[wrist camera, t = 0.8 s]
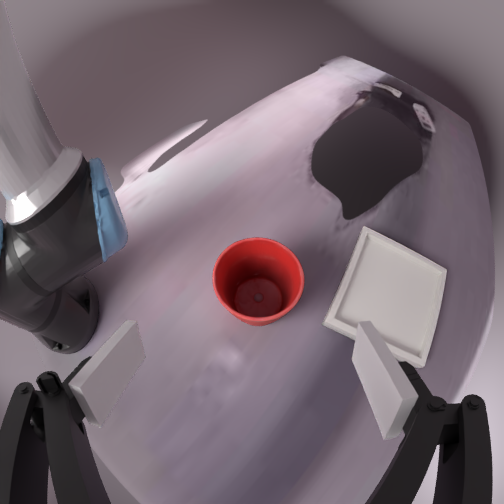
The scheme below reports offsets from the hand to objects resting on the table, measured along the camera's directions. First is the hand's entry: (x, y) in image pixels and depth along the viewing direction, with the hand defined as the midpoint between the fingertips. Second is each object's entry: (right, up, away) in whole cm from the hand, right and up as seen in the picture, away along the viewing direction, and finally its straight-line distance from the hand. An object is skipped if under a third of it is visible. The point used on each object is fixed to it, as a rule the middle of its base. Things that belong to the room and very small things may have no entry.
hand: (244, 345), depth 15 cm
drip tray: (+23, -2, +25) cm, 34 cm away
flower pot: (+1, -2, +26) cm, 26 cm away
